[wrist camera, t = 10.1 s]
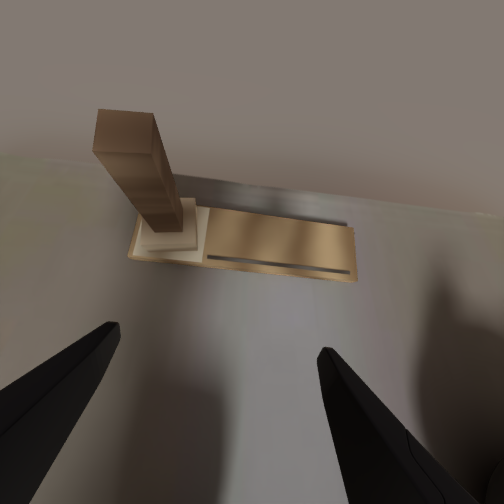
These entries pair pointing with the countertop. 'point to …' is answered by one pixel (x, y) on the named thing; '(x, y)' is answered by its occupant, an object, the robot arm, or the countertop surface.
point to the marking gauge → (146, 179)
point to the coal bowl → (496, 485)
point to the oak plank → (262, 246)
